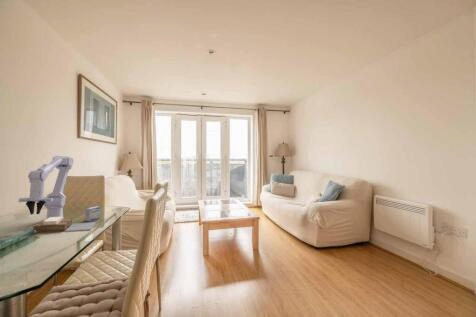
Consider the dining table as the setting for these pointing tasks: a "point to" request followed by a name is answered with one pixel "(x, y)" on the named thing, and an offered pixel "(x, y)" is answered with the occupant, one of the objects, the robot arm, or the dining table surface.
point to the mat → (80, 227)
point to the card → (52, 220)
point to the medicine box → (92, 213)
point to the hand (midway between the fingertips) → (35, 213)
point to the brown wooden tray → (53, 226)
